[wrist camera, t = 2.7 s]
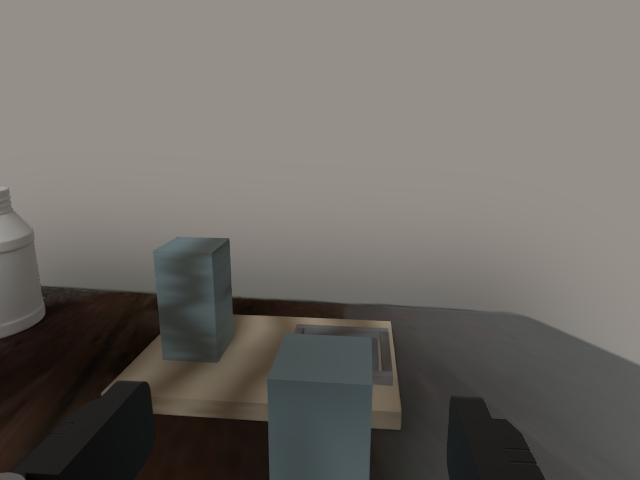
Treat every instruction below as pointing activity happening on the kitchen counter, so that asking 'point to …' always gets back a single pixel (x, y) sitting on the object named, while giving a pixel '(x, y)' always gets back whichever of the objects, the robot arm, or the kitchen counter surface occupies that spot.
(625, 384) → the kitchen counter surface
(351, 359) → the pillar
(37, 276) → the jar
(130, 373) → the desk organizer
